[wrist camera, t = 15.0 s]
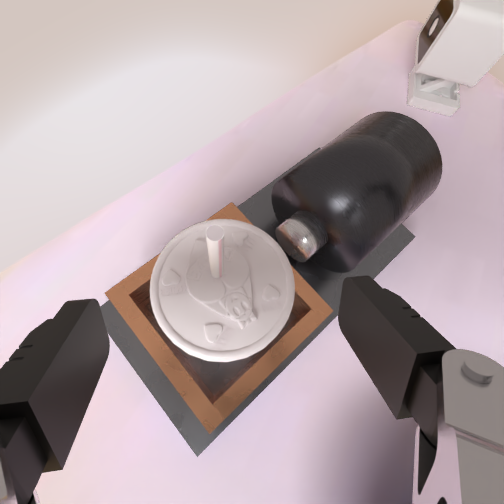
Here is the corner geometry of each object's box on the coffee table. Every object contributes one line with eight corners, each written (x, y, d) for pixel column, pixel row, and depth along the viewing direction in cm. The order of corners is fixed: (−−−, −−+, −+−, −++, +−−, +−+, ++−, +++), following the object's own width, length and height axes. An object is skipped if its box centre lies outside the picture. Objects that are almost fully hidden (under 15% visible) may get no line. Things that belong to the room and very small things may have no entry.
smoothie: (236, 258, 23) (253, 128, 10) (282, 326, 22) (375, 279, 9) (163, 302, 21) (71, 215, 8) (209, 379, 20) (183, 422, 7)
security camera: (397, 67, 36) (458, -35, 27) (451, 82, 36) (531, -15, 27) (393, 104, 34) (459, 7, 24) (451, 120, 34) (539, 28, 24)
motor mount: (313, 160, 30) (355, 70, 20) (402, 245, 27) (495, 186, 18) (103, 315, 23) (19, 286, 13) (199, 447, 20) (180, 525, 11)
